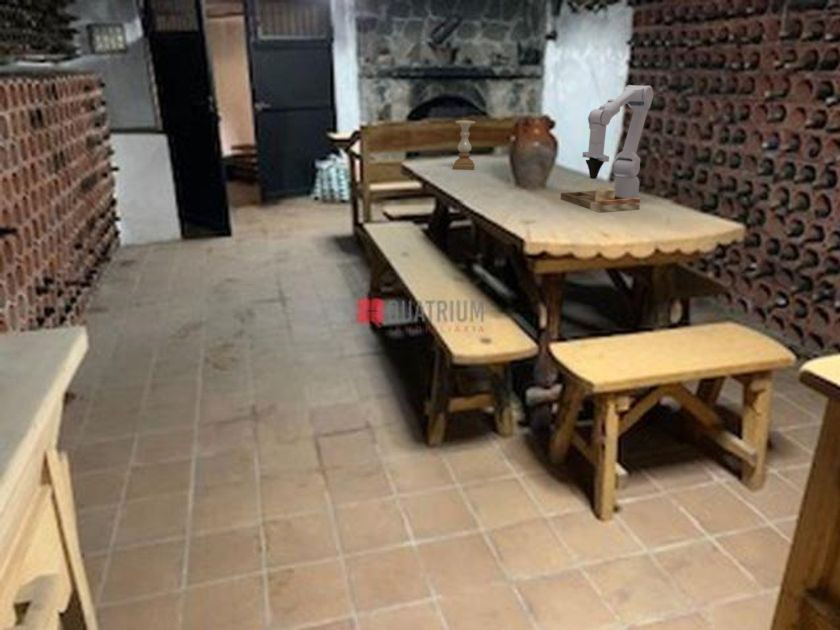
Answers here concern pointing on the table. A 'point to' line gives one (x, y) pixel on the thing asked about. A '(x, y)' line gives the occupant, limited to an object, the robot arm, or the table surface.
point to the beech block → (604, 194)
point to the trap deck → (588, 201)
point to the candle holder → (464, 148)
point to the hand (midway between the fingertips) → (593, 178)
